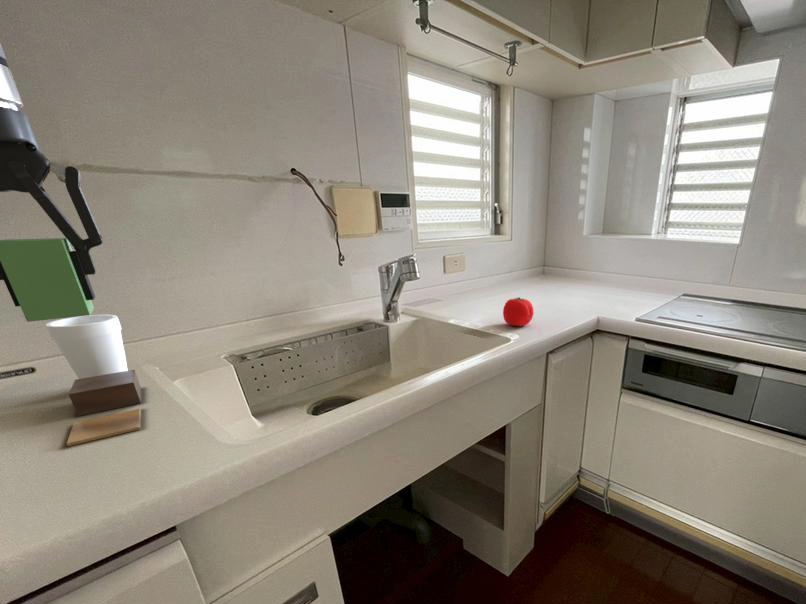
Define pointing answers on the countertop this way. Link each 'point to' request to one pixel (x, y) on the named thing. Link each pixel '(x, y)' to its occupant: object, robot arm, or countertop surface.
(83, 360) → the foam cup
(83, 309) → the green block
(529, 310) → the tomato
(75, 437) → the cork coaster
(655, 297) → the countertop surface
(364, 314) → the countertop surface
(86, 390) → the walnut base
